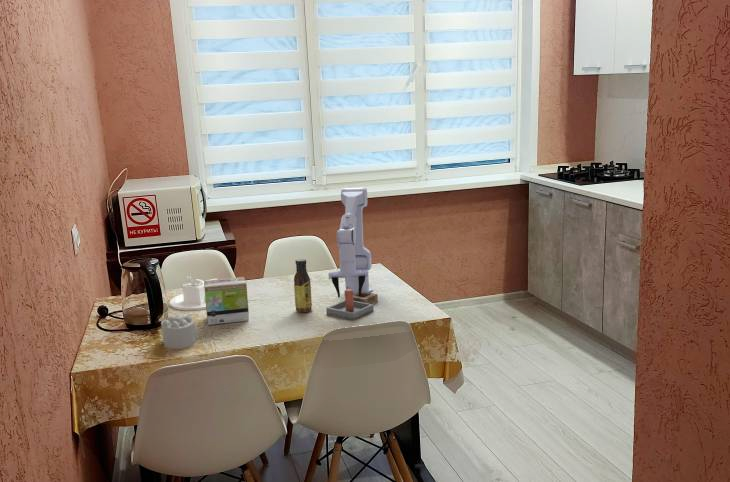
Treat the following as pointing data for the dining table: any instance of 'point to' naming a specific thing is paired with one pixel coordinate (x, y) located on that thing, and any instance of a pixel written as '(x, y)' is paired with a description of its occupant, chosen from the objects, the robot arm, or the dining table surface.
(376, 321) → the dining table surface
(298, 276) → the sauce bottle
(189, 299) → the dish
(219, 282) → the tea box
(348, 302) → the pin
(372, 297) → the pin block
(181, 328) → the white bowl of pebbles
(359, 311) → the tray
